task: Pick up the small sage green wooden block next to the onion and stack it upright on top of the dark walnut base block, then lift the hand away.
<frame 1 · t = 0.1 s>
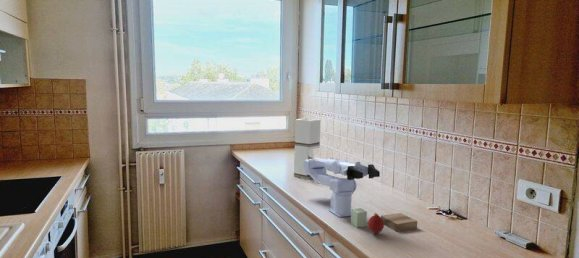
hand: (370, 174, 144), 22 cm above the worktop, tool horizontal, fingers open, 7 cm apart
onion: (375, 234, 142), on the worktop
sage block: (358, 225, 151), on the worktop
walnut base: (398, 225, 151), on the worktop
white coffee machine: (306, 176, 232), on the worktop
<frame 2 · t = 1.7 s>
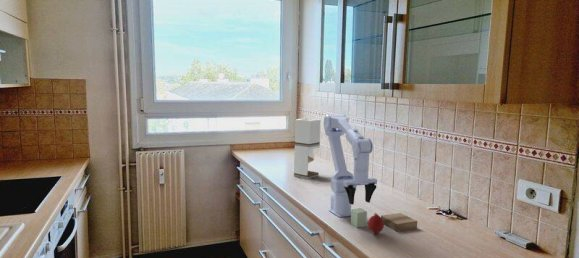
hand: (359, 202, 150), 9 cm above the worktop, tool pointing down, fingers open, 7 cm apart
nothing on the worktop moved.
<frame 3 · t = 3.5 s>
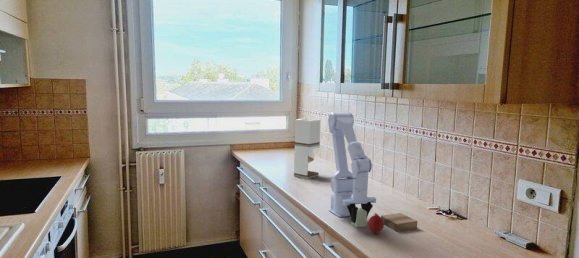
hand: (358, 221, 151), 1 cm above the worktop, tool pointing down, fingers closed on sage block, 4 cm apart
sage block: (358, 224, 151), on the worktop, touching gripper
everything else where it was.
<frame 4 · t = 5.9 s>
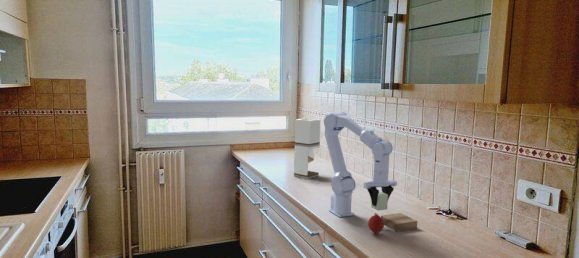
hand: (379, 204, 150), 8 cm above the worktop, tool pointing down, fingers closed on sage block, 4 cm apart
sage block: (379, 208, 150), point 7 cm above the worktop, touching gripper
everything else where it was.
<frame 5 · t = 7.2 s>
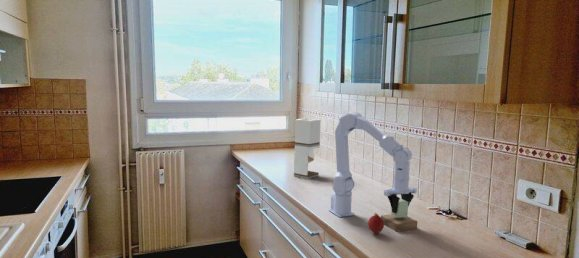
hand: (399, 211, 151), 6 cm above the worktop, tool pointing down, fingers closed on sage block, 4 cm apart
sage block: (399, 215, 151), point 4 cm above the worktop, touching gripper
everything else where it was.
when the fingers open (5 cm above the worktop, at t = 8.4 s): sage block stays where it is, resting on walnut base.
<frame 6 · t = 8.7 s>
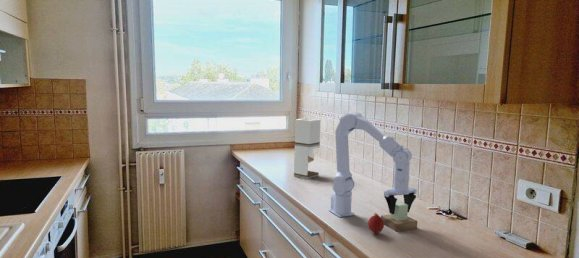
hand: (399, 212, 151), 5 cm above the worktop, tool pointing down, fingers open, 7 cm apart
sage block: (398, 218, 151), point 3 cm above the worktop, touching walnut base
everything else where it was.
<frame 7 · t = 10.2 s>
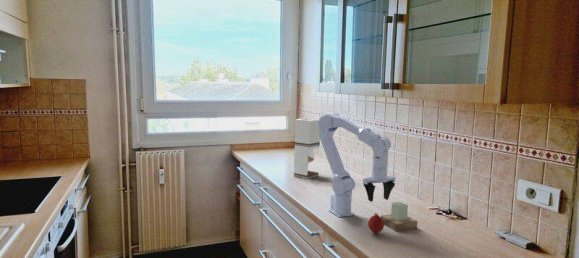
hand: (378, 200, 153), 9 cm above the worktop, tool pointing down, fingers open, 7 cm apart
nothing on the worktop moved.
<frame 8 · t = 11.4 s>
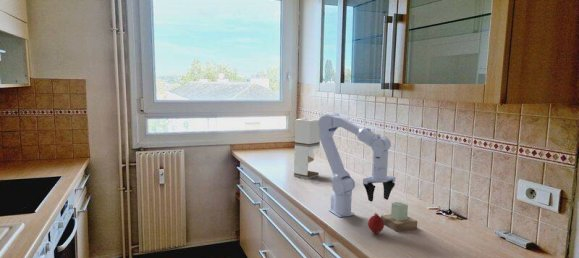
hand: (378, 199, 153), 9 cm above the worktop, tool pointing down, fingers open, 7 cm apart
nothing on the worktop moved.
at the end: sage block 0.0 cm off-centre on the walnut base, point 3.0 cm above the walnut base's base; sage block tilted 0°; the gripper is holding nothing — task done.
